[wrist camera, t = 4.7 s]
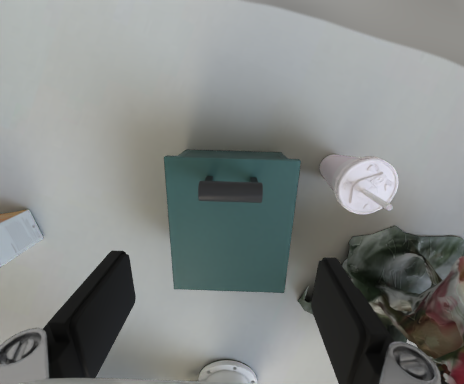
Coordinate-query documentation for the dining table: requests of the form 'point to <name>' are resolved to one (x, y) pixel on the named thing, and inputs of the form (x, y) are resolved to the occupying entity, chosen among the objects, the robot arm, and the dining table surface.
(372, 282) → the rose bouquet
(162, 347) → the dining table surface
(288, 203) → the bin lid
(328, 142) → the dining table surface
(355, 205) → the smoothie
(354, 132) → the dining table surface
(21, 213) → the small box
